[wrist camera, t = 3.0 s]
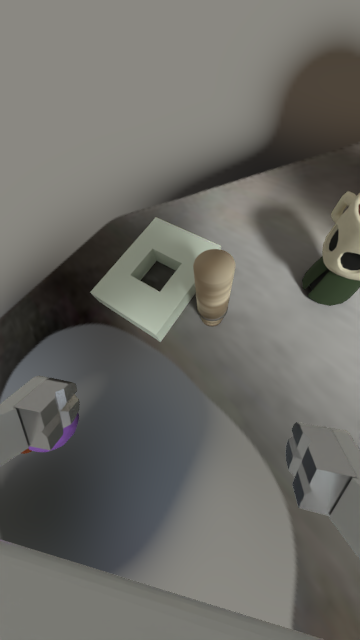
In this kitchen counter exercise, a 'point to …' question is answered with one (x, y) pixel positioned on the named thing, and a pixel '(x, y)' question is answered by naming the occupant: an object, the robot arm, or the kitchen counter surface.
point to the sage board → (125, 276)
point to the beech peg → (213, 284)
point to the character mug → (338, 256)
